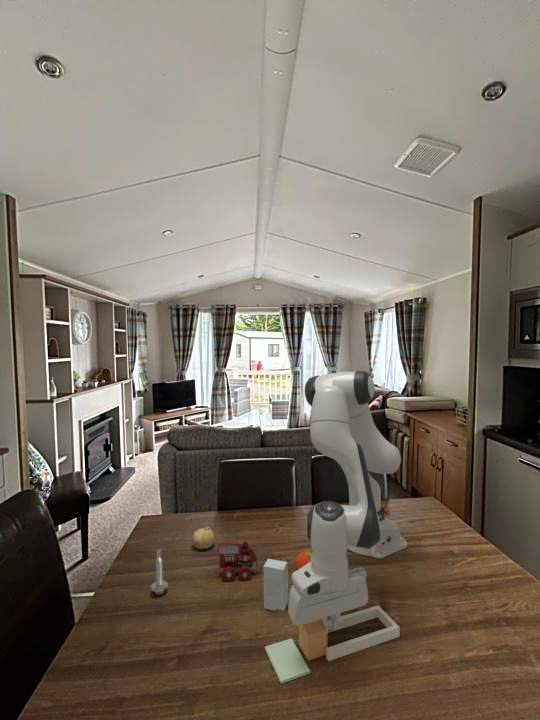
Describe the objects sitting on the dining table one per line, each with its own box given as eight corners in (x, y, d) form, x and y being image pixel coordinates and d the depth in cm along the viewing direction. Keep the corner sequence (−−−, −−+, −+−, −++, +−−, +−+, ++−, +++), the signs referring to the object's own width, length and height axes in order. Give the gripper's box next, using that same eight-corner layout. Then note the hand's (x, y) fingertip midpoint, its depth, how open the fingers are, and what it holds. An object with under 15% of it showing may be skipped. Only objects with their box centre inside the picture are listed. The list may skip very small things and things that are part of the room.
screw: (148, 592, 111) (162, 585, 114) (155, 600, 107) (171, 592, 111) (147, 549, 110) (162, 543, 114) (155, 555, 107) (170, 549, 110)
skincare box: (288, 603, 105) (288, 561, 105) (284, 613, 101) (283, 570, 101) (268, 598, 107) (267, 557, 107) (263, 608, 103) (262, 566, 103)
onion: (207, 554, 131) (207, 534, 131) (188, 550, 134) (187, 530, 134) (218, 543, 139) (218, 524, 139) (199, 539, 141) (199, 521, 141)
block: (317, 638, 92) (317, 614, 91) (327, 654, 87) (327, 629, 87) (298, 644, 90) (298, 620, 90) (308, 660, 85) (308, 635, 85)
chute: (378, 616, 100) (378, 605, 100) (399, 639, 92) (399, 627, 92) (311, 637, 93) (311, 625, 93) (328, 664, 85) (328, 651, 85)
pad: (302, 637, 93) (302, 634, 93) (322, 669, 84) (322, 666, 84) (264, 649, 89) (264, 646, 89) (280, 683, 80) (280, 681, 80)
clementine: (324, 574, 119) (324, 552, 119) (311, 584, 114) (311, 561, 114) (305, 564, 124) (304, 543, 124) (291, 573, 119) (291, 551, 119)
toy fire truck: (257, 580, 116) (256, 547, 116) (217, 582, 115) (216, 549, 115) (257, 567, 123) (256, 536, 123) (219, 569, 122) (218, 537, 122)
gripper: (358, 557, 96) (358, 610, 96) (285, 575, 89) (285, 632, 89) (373, 571, 90) (373, 627, 90) (296, 591, 83) (296, 652, 83)
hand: (329, 630), depth 90 cm, fingers closed
